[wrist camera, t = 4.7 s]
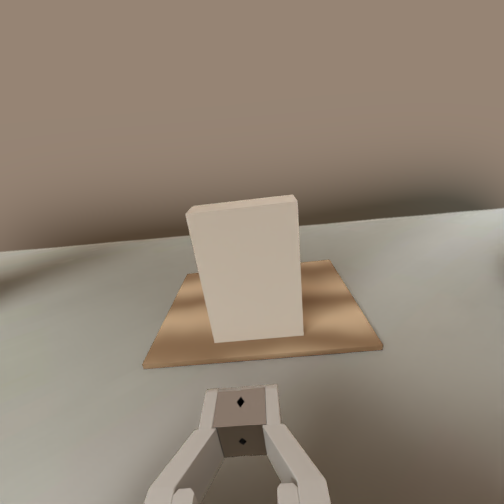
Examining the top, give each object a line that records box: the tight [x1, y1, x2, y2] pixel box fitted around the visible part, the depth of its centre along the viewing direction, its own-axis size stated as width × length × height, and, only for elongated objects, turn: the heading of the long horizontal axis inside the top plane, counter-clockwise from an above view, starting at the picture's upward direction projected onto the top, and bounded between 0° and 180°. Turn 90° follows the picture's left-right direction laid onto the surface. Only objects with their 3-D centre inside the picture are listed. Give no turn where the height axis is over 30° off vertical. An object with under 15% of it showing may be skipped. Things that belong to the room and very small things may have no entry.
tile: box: [186, 195, 304, 343], centre depth 22 cm, size 2×8×12 cm, turn 89°
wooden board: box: [142, 260, 383, 369], centre depth 29 cm, size 16×20×1 cm
